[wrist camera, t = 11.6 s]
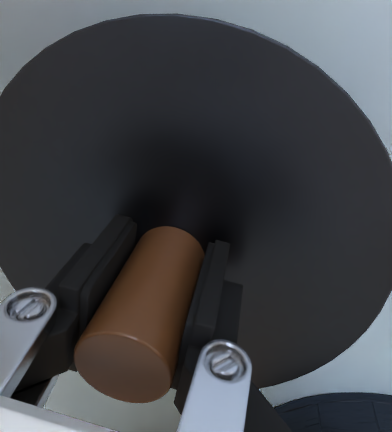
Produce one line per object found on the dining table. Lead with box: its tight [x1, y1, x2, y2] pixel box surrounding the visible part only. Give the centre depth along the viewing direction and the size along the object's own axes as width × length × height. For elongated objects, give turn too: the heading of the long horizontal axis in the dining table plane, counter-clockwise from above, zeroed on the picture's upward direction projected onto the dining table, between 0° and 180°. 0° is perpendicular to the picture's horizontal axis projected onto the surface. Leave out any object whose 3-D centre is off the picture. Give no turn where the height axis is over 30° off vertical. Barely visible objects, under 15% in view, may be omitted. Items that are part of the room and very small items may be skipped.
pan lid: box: [0, 14, 392, 403], centre depth 11 cm, size 16×16×6 cm
